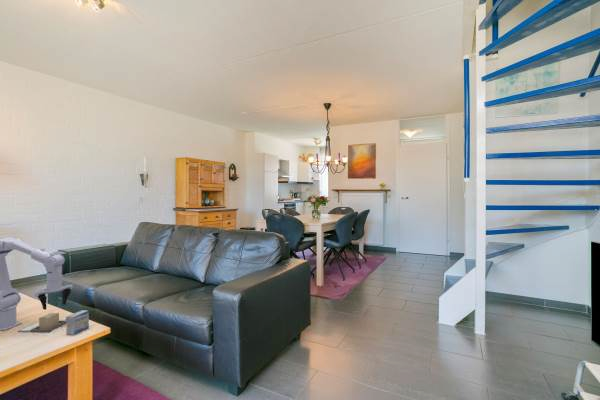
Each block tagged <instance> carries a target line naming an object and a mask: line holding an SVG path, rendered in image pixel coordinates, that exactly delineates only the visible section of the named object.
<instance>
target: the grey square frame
mask: <svg viewBox="0 0 600 400" xmlns="http://www.w3.org/2000/svg"><path fill="white" fill-rule="evenodd" d="M65 324H66V320H59V324H58V325H56V326H54V327H52V328H50V329H39V326H37V327H35V328H33V329H31V332H30V333H50V332H53V331H54V330H57V329H58V328H60V327H62V326H64V325H65Z"/></svg>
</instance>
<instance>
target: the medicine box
mask: <svg viewBox="0 0 600 400" xmlns="http://www.w3.org/2000/svg"><path fill="white" fill-rule="evenodd" d="M89 314H90V311H89V310H86V309H85V310H84V309H81V310H79V311H75V313H72V314H69V315H66V317H65V321H66V325H65V327H66V329H65V330H66V332H65V333H66V335H69V336H71V335H72V336H76V335H77V334H78V333H79V334H80V333H81V332H83V331H85V330H87V329H89V327H90V318H89V317H90V315H89Z"/></svg>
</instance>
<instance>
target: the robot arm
mask: <svg viewBox="0 0 600 400" xmlns="http://www.w3.org/2000/svg"><path fill="white" fill-rule="evenodd" d="M14 250H15V251H18V252H21V253H24V254H27V255H29V256H30V257H31V259H32V260H33V261H37V262H39V263H41V264H43V266H44V268H45V271H46V288H45V289H42V290H37V291H34V297H37V298H38V300H39V302H40V304H41V306H42V310H45V311H46V310H47V299H48V298H47V297H48V296H47V295H48V294H49V295H50V294H52V293H58V292H61V295H62V297H61V298H62V299H61V300H62V302H61V303H62V305H64V306H65V305H66V304H67V300H68V297H69V296H70V294H71V293H72V290H73V289H74V287H73V286H74V285H73V284H67V285H65V284H64V285H63V265H64V263H65V261H66V258H65V256H63V255H62V253H61V254H60V253H57V254H56V253H54V252H50V251H48V250H46V249H45V248H35V247H33V246H32V245H30V244H27V243H26V242H24V241H22V240H21V238H17V236H10V237H5V238H4V237H3V238H0V331H7V330H10V329H12V328H13V327H15V326H18V325H20V324H22V321H18V320H17V307H18V305H19V303H20V302H21V300H22V297H21V294H19V291H18V289H17V288H14V287H12V284H11V283H12V282H11V279H10V278H11V277H10V274H9V270H8V265H7V260H6V256H8V254H10V253H11V252H12V251H14Z"/></svg>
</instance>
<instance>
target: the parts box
mask: <svg viewBox="0 0 600 400" xmlns="http://www.w3.org/2000/svg"><path fill="white" fill-rule="evenodd" d="M59 321H60V313H59V312H49V313H46V314H45V315H42V316H41V317H39V318H38V322H39V329H50V328H52V327H54V326H56V325H58V324H60V323H59Z"/></svg>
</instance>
